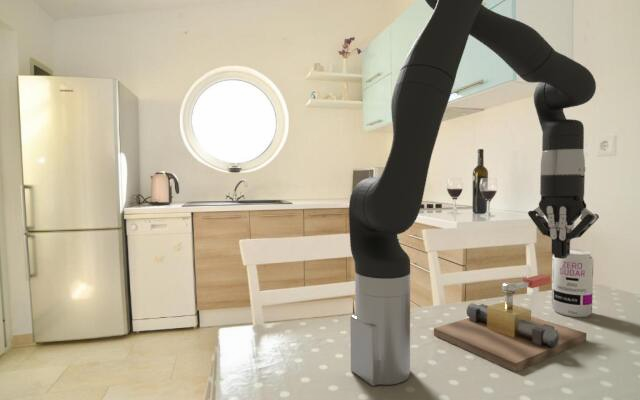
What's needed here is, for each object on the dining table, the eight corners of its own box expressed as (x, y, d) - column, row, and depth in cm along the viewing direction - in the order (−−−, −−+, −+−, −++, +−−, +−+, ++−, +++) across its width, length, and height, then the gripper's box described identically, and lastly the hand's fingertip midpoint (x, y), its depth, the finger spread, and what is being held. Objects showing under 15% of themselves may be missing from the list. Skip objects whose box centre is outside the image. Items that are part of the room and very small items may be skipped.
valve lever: (511, 294, 75) (511, 286, 75) (499, 291, 77) (499, 283, 77) (551, 283, 83) (551, 276, 83) (539, 281, 85) (539, 274, 85)
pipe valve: (545, 355, 68) (546, 308, 68) (462, 324, 84) (463, 285, 83) (562, 348, 71) (563, 302, 71) (479, 319, 87) (479, 281, 86)
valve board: (515, 372, 64) (515, 363, 64) (433, 335, 79) (433, 328, 79) (586, 340, 76) (586, 333, 76) (503, 313, 91) (503, 307, 91)
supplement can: (578, 307, 96) (580, 248, 95) (599, 318, 87) (601, 255, 87) (545, 306, 96) (546, 248, 96) (562, 317, 88) (564, 254, 88)
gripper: (519, 173, 80) (518, 254, 81) (589, 172, 68) (587, 266, 69) (539, 173, 83) (538, 250, 84) (608, 172, 72) (606, 261, 73)
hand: (560, 257), depth 77 cm, fingers closed
